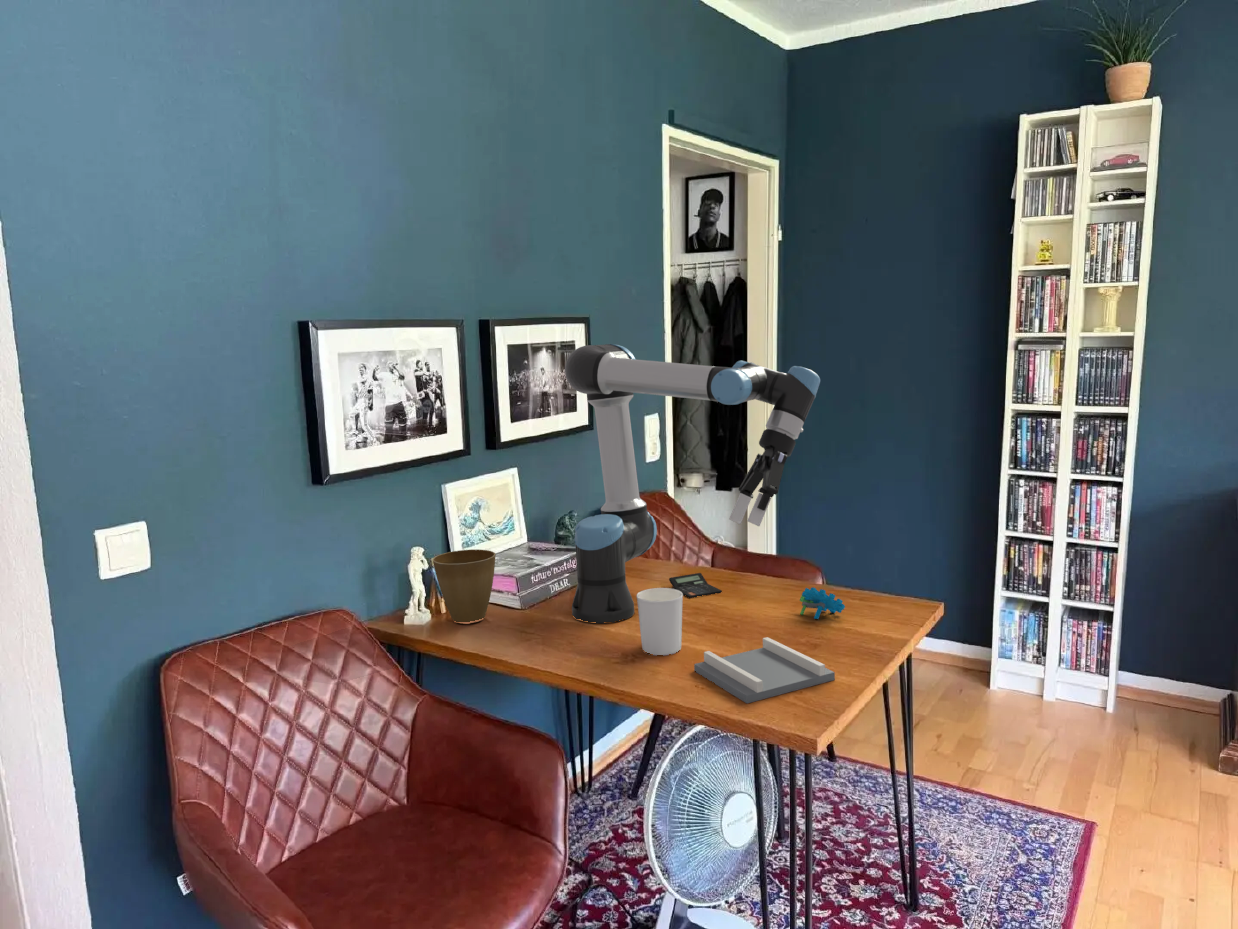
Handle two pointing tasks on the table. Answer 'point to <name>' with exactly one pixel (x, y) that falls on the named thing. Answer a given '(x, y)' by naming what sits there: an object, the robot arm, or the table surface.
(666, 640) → the candle holder
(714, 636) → the table surface
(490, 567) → the plant pot
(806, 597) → the gear
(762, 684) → the grey tray with rails
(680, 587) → the calculator
